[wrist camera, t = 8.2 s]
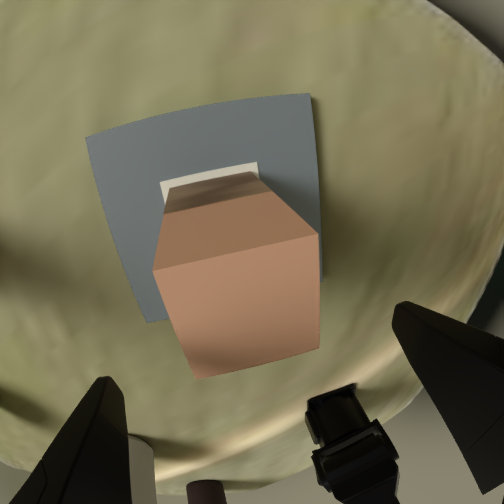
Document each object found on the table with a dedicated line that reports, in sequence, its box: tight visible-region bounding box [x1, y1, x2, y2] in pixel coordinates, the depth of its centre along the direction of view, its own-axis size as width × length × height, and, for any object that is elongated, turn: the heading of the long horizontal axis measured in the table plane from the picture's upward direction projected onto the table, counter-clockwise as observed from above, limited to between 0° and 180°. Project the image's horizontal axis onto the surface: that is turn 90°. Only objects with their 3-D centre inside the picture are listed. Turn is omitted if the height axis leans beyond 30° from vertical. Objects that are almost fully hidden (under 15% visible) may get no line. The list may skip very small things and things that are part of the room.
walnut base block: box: [163, 171, 273, 216], centre depth 16 cm, size 5×5×5 cm
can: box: [128, 435, 157, 504], centre depth 25 cm, size 8×8×12 cm
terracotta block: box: [152, 192, 320, 379], centre depth 12 cm, size 5×5×5 cm
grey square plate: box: [85, 93, 323, 323], centre depth 19 cm, size 14×14×1 cm
